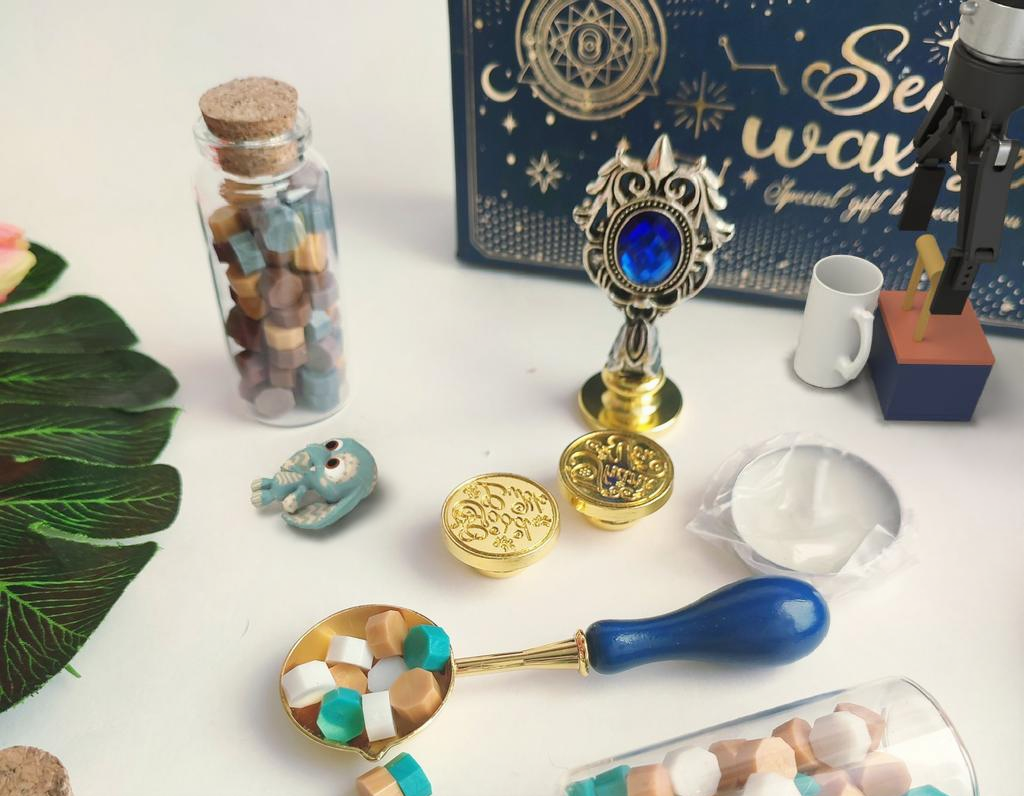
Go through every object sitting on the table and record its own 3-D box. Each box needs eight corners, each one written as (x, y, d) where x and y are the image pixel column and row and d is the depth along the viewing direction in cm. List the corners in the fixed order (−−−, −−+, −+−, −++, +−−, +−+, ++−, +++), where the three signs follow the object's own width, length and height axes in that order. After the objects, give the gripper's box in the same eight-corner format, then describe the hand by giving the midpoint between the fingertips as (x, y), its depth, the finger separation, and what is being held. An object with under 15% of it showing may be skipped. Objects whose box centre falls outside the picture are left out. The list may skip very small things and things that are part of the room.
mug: (780, 354, 116) (802, 259, 107) (838, 345, 117) (865, 250, 108) (818, 415, 109) (845, 319, 101) (879, 405, 110) (911, 310, 102)
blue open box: (884, 420, 109) (903, 364, 104) (863, 351, 116) (880, 296, 111) (970, 421, 109) (993, 366, 103) (943, 352, 116) (964, 297, 111)
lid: (898, 364, 104) (923, 285, 97) (875, 295, 111) (897, 219, 104) (993, 365, 103) (1026, 287, 97) (964, 297, 111) (992, 220, 104)
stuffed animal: (235, 424, 101) (359, 393, 100) (263, 476, 106) (380, 446, 105) (232, 507, 93) (366, 473, 93) (262, 558, 99) (389, 526, 98)
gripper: (921, -18, 95) (862, 197, 111) (999, 120, 78) (917, 351, 94) (1006, -16, 95) (936, 198, 110) (1103, 122, 78) (1004, 352, 94)
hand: (927, 269), depth 102 cm, fingers open, 13 cm apart
